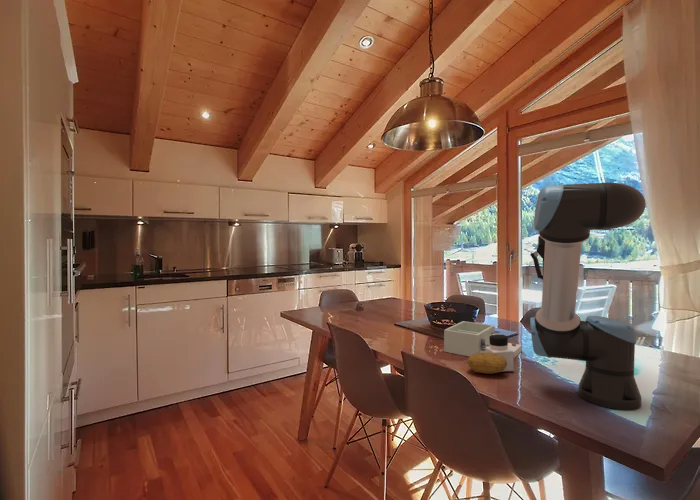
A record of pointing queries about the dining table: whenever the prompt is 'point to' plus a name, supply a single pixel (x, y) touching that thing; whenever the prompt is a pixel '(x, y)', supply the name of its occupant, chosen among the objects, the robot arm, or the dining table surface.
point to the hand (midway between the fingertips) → (548, 297)
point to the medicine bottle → (501, 349)
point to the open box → (467, 338)
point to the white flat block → (512, 346)
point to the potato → (487, 363)
